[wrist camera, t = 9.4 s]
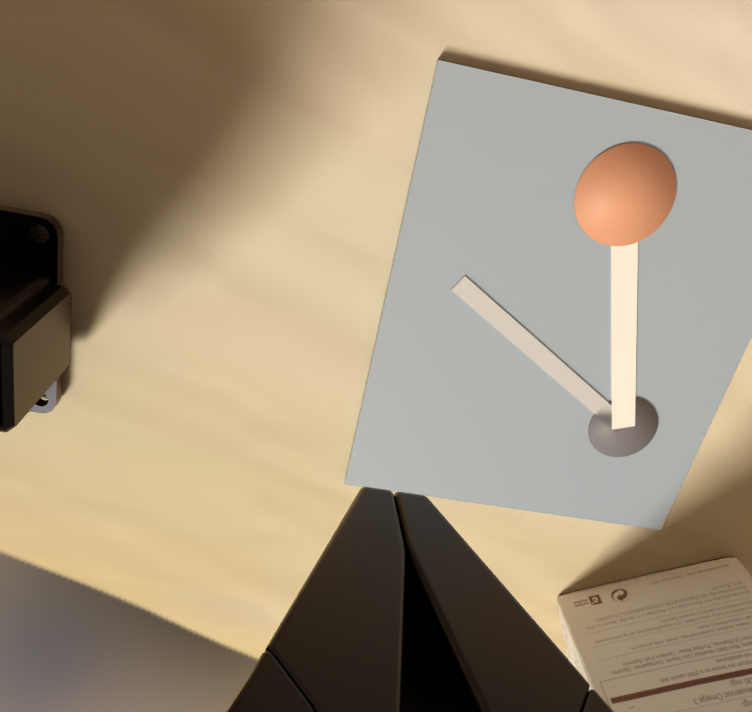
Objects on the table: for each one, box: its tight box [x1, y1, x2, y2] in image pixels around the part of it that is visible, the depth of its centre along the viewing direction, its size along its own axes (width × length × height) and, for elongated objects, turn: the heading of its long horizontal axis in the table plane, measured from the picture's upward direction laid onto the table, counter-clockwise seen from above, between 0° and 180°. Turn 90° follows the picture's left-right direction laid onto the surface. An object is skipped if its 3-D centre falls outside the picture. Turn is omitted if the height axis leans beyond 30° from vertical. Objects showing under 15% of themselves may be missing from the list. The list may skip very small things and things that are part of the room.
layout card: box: [345, 60, 752, 530], centre depth 22 cm, size 12×14×1 cm
